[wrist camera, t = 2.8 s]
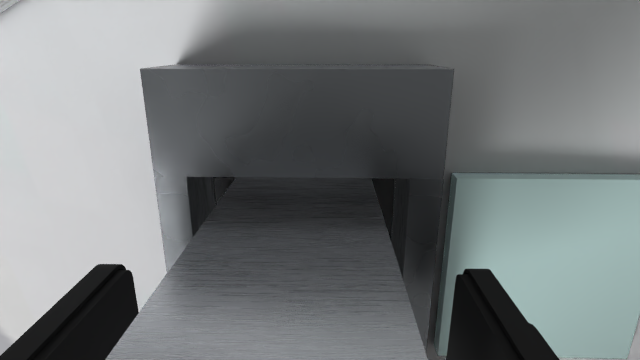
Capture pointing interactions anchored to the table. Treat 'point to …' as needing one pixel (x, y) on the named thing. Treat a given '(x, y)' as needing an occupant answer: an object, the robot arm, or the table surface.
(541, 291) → the coaster pad
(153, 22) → the table surface
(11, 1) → the supplement box
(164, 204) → the dark grey slotted base
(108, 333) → the robot arm
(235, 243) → the light grey rectangular block
